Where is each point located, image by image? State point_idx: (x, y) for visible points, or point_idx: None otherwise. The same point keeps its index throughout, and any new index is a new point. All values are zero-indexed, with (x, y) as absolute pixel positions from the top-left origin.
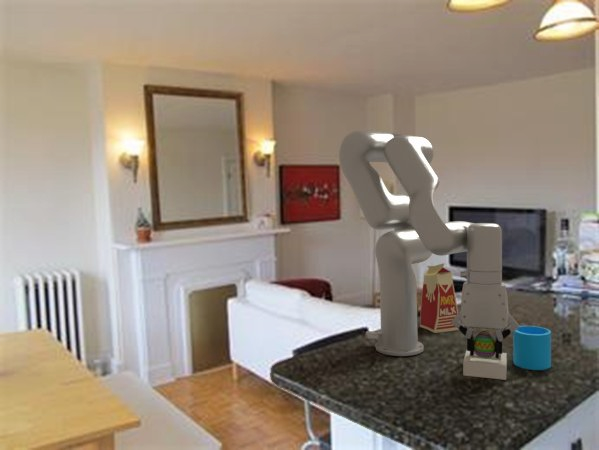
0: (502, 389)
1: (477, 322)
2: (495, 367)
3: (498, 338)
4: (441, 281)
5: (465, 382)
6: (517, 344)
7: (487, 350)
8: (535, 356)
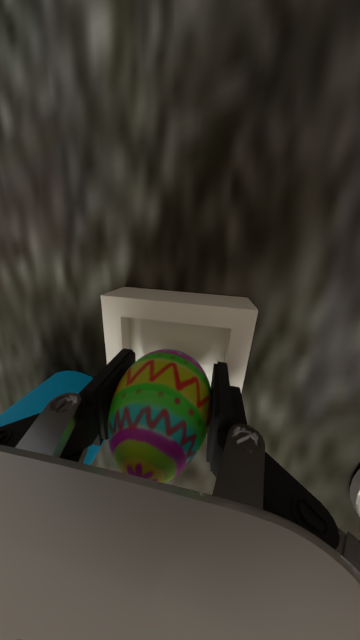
0: (129, 198)
1: (150, 579)
2: (139, 296)
3: (75, 409)
4: None
5: (245, 231)
6: None
7: (151, 356)
8: (40, 393)
